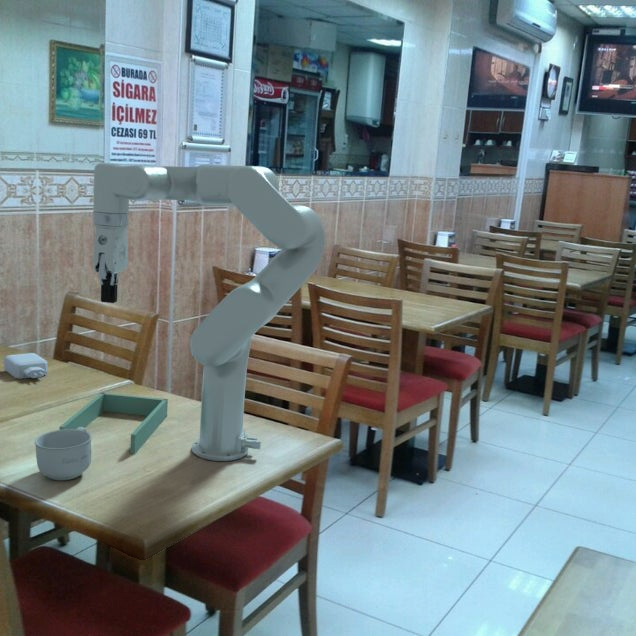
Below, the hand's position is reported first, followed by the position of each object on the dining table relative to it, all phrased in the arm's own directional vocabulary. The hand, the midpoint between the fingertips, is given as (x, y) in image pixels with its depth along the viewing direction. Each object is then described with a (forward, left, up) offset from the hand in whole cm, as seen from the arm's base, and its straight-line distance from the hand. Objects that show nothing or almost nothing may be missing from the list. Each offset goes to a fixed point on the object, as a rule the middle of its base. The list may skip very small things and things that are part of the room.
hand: (108, 301), depth 169 cm
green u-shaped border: (-2, -2, -31) cm, 31 cm away
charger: (+35, -35, -32) cm, 59 cm away
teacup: (-1, +23, -31) cm, 39 cm away
